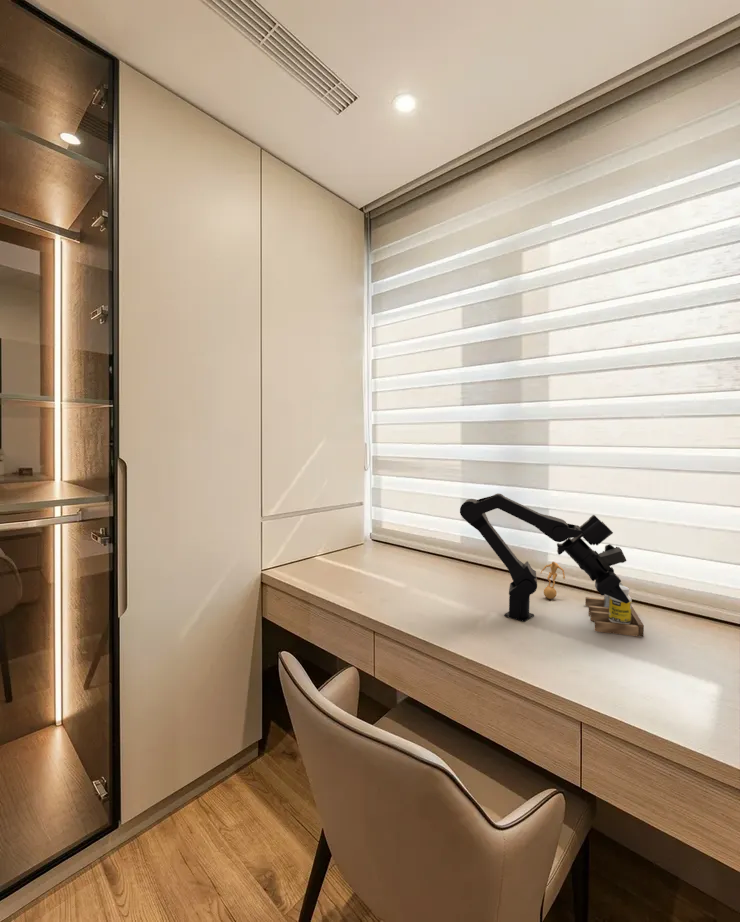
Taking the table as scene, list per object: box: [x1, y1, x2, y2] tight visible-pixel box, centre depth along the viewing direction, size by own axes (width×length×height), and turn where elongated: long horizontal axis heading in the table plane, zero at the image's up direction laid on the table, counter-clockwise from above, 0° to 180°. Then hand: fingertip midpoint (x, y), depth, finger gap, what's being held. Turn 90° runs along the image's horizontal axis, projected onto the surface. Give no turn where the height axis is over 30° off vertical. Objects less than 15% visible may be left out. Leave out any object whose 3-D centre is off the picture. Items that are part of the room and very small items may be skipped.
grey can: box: [603, 582, 624, 608], centre depth 141 cm, size 5×5×9 cm
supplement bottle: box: [609, 585, 633, 624], centre depth 129 cm, size 5×5×10 cm
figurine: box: [540, 561, 566, 600], centre depth 153 cm, size 8×6×12 cm
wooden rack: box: [585, 596, 645, 638], centre depth 135 cm, size 12×21×3 cm, turn 162°
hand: (626, 598), depth 129 cm, fingers closed on supplement bottle, 5 cm apart
